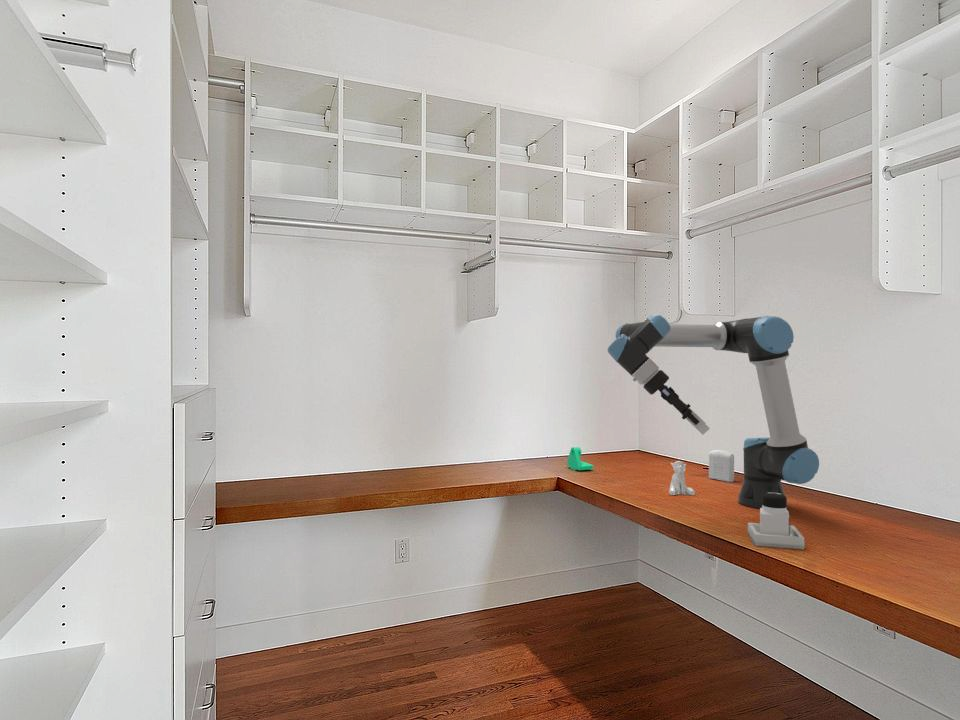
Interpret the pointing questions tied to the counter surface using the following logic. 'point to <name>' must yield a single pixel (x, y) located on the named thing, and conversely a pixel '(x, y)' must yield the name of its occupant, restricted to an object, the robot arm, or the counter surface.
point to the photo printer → (721, 465)
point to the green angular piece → (577, 460)
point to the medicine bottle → (774, 515)
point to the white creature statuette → (679, 481)
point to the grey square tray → (776, 538)
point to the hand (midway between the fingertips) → (704, 428)
